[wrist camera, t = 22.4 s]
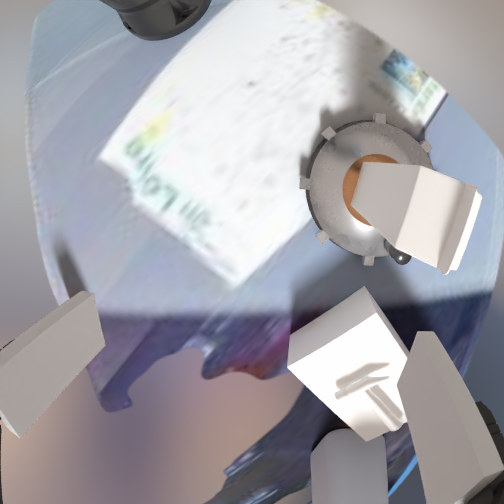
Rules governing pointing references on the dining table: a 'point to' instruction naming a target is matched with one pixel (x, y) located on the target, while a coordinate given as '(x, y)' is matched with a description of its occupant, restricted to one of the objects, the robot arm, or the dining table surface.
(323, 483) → the plastic bottle
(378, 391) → the tissue box
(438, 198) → the milk
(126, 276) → the dining table surface
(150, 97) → the dining table surface
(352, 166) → the sprocket
